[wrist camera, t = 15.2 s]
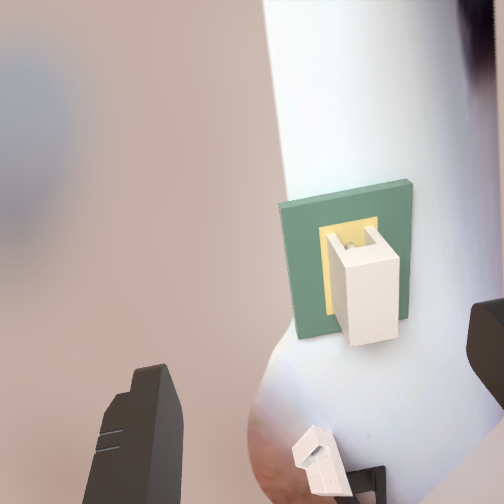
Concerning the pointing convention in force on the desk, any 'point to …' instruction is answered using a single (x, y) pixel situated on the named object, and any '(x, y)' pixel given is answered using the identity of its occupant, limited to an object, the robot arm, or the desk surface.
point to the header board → (350, 235)
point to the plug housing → (364, 288)
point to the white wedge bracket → (321, 463)
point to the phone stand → (366, 485)
